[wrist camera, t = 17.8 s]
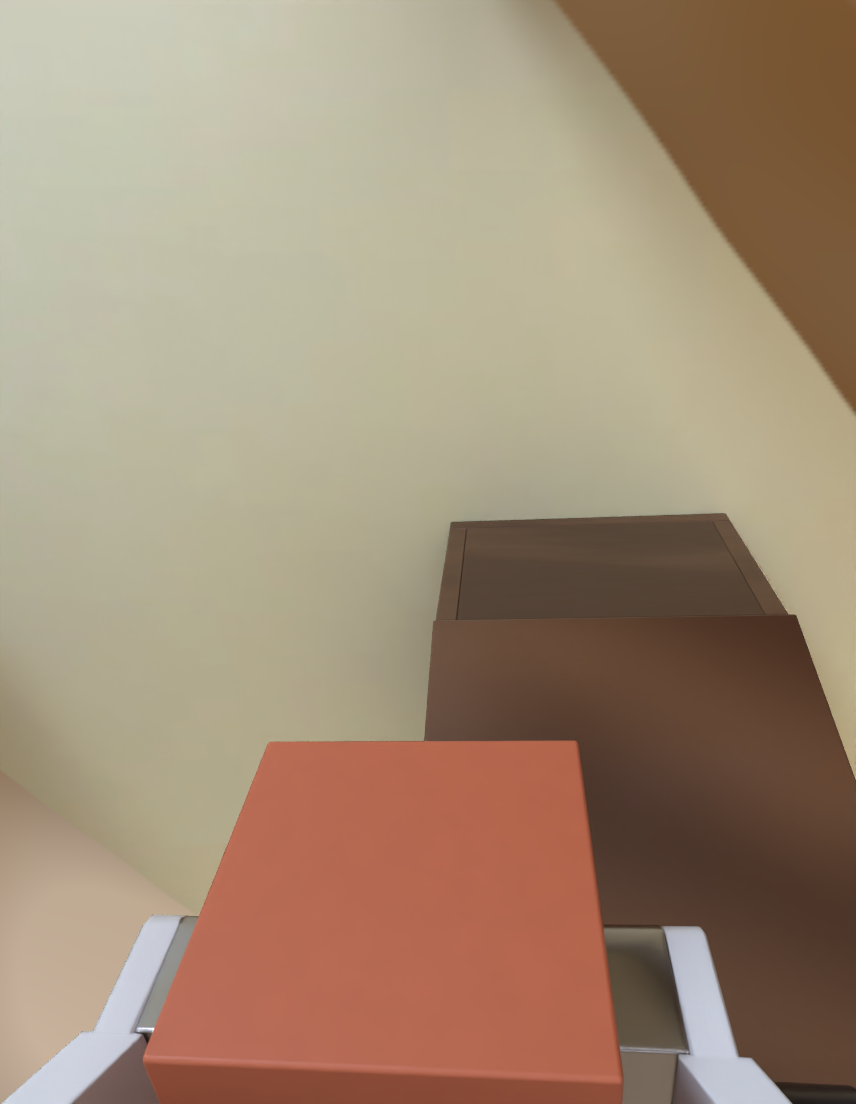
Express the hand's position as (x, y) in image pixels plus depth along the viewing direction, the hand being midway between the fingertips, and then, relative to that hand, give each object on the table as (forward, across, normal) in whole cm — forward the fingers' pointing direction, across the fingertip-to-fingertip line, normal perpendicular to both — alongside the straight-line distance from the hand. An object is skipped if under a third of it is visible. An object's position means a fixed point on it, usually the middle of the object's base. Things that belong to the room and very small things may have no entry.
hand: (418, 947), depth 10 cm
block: (+2, 0, 0) cm, 2 cm away
